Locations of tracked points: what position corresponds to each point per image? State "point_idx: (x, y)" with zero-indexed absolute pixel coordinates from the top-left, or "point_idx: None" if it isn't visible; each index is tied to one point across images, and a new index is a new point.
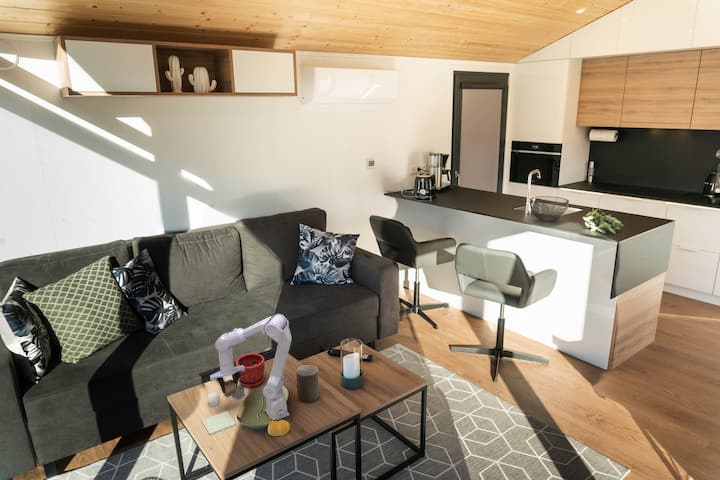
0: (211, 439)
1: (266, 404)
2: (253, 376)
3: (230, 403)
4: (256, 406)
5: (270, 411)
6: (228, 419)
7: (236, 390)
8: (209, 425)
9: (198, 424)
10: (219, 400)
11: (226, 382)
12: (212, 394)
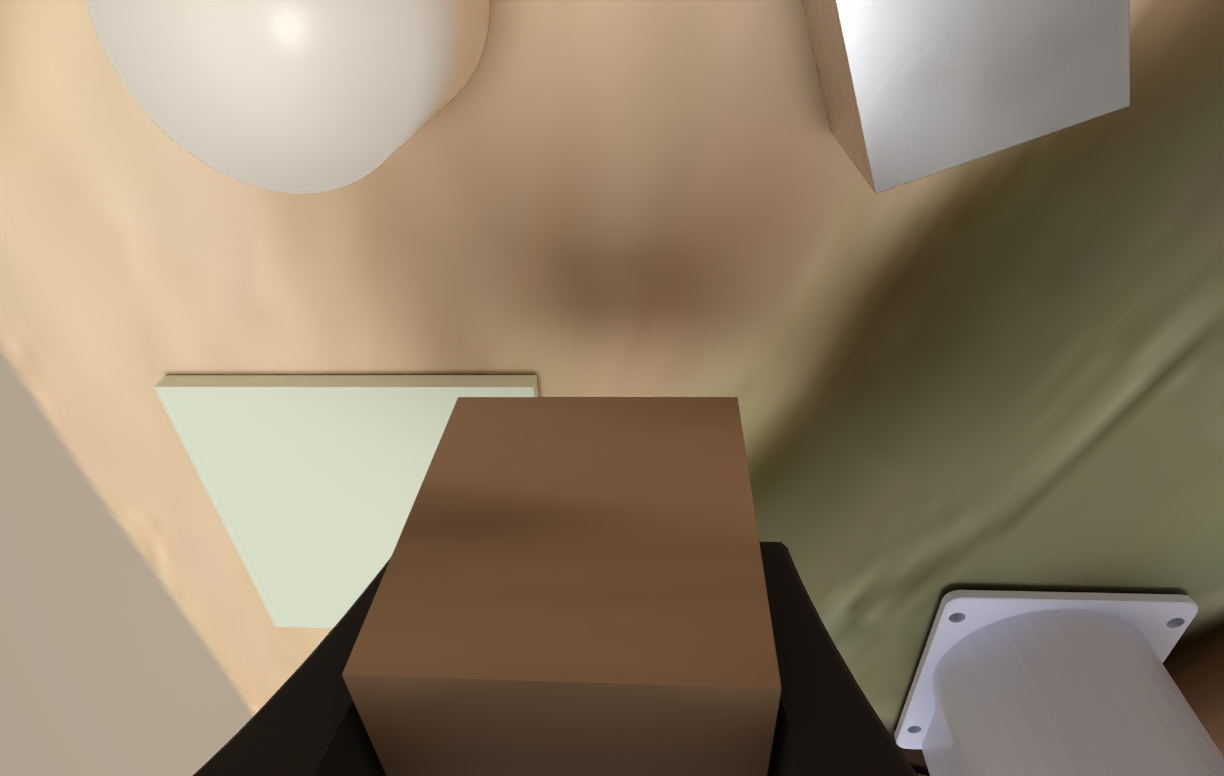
0: (297, 658)
1: (992, 764)
2: None
3: (659, 175)
4: (947, 468)
5: (956, 762)
6: None
7: (898, 111)
8: (270, 524)
9: (130, 408)
10: (455, 88)
11: (516, 743)
12: (234, 43)
